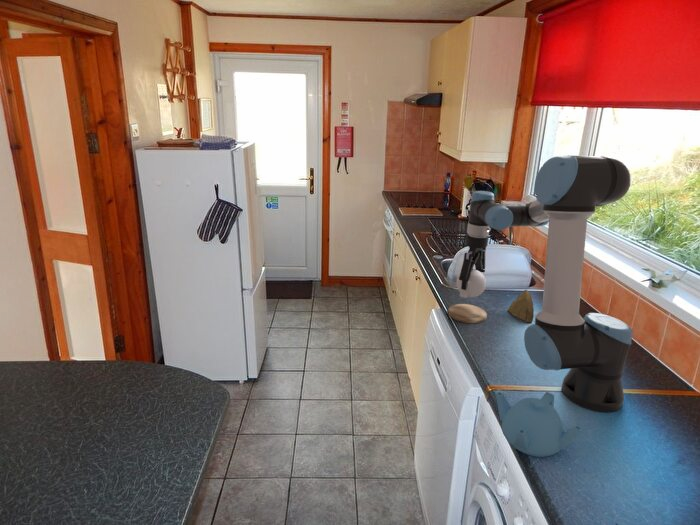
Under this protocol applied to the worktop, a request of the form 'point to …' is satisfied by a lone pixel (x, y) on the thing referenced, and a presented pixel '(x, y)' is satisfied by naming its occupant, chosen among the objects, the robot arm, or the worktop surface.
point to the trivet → (467, 313)
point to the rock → (523, 307)
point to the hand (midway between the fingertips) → (469, 292)
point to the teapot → (534, 425)
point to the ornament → (474, 283)
